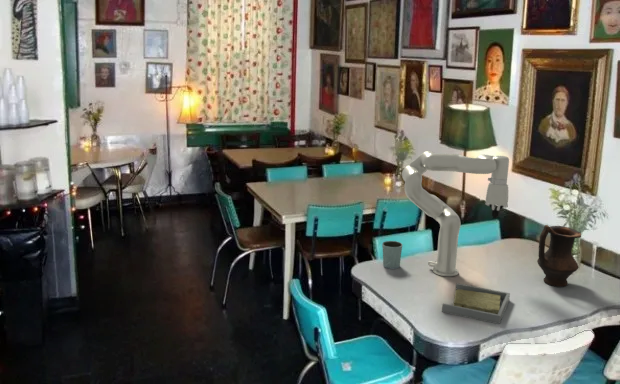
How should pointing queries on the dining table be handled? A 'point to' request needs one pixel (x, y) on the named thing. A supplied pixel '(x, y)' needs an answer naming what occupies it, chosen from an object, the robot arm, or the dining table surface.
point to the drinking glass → (391, 254)
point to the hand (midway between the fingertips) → (495, 217)
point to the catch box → (475, 313)
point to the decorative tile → (477, 301)
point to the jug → (557, 254)
